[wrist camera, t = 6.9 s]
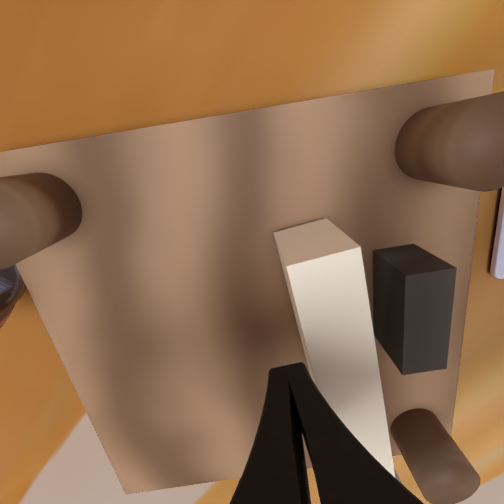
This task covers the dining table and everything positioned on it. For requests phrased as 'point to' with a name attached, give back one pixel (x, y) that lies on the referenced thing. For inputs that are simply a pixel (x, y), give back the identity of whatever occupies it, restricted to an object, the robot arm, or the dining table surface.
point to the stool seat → (255, 267)
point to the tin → (9, 291)
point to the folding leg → (337, 328)
